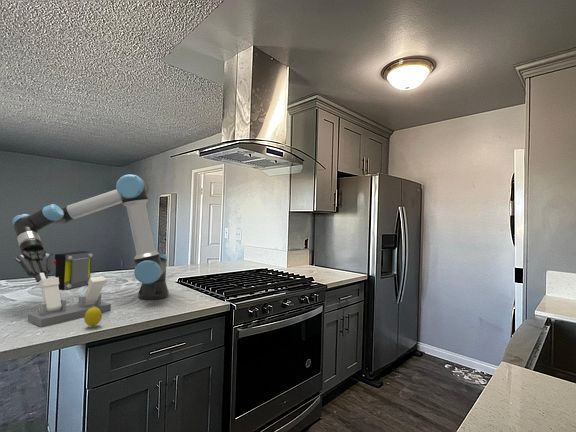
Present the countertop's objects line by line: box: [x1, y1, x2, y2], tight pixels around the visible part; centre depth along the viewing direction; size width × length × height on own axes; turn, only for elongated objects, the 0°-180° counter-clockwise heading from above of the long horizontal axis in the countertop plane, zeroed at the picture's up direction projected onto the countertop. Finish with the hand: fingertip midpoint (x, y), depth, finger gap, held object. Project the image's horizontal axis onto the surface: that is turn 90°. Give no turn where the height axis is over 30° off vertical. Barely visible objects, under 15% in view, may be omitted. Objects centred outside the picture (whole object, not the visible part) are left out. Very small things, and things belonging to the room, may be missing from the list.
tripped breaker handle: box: [38, 277, 62, 312], centre depth 123 cm, size 3×6×13 cm, turn 149°
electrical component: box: [52, 250, 94, 291], centre depth 178 cm, size 18×10×20 cm, turn 168°
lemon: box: [84, 306, 103, 328], centre depth 116 cm, size 6×6×8 cm
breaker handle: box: [83, 275, 107, 304], centre depth 132 cm, size 3×6×13 cm, turn 149°
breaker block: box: [27, 292, 112, 328], centre depth 128 cm, size 12×26×8 cm, turn 150°
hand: (44, 287), depth 125 cm, fingers closed
